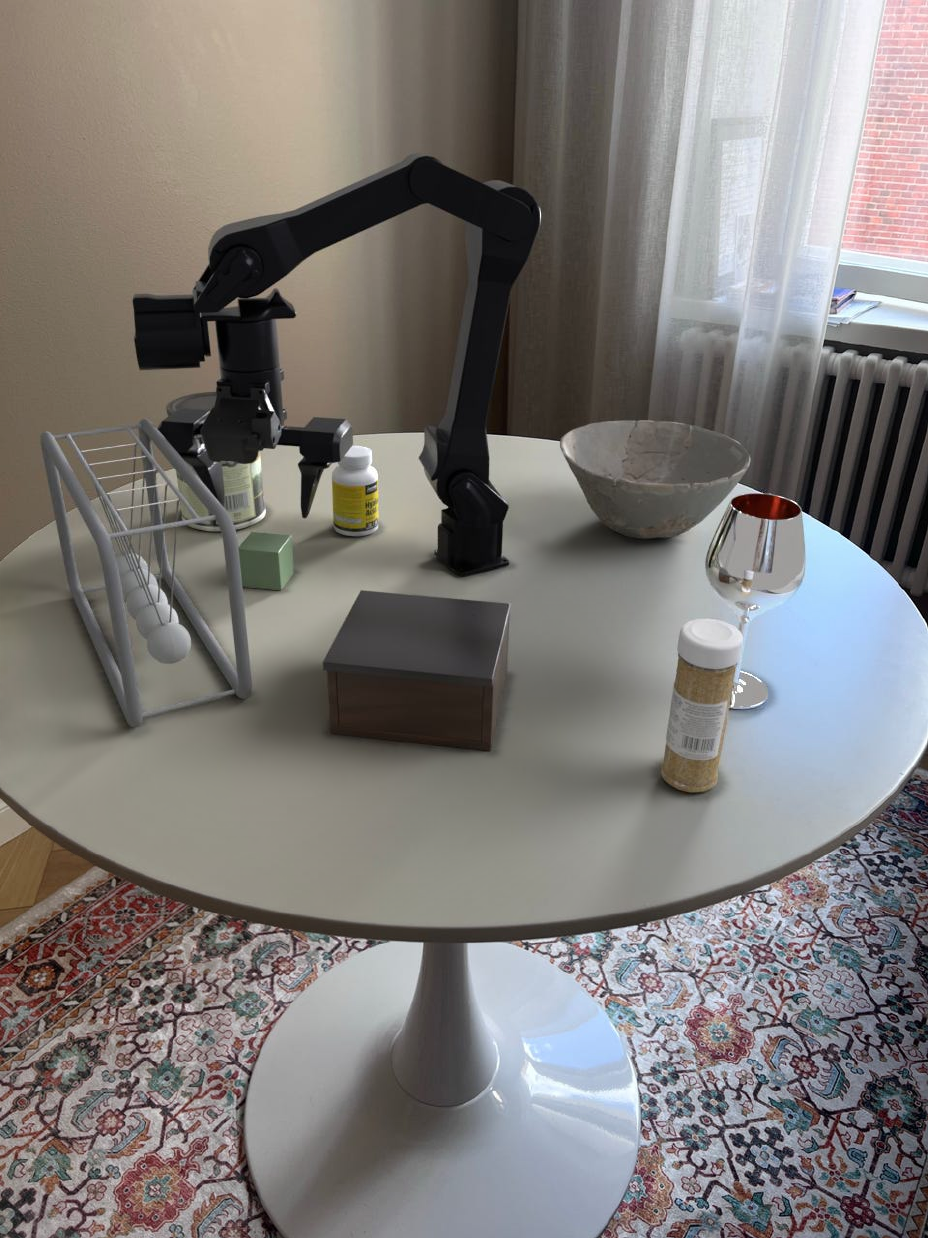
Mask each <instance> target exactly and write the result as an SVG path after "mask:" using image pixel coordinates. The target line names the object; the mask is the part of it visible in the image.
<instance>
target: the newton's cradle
mask: <svg viewBox="0 0 928 1238" xmlns="http://www.w3.org/2000/svg"><path fill="white" fill-rule="evenodd" d="M136 429H137V430H138V436H137V435H136V434H135V432H134V431H133V430H136ZM121 431H127V433H128V434H129V435H130V437H131V438H132V439H133V441H134V442H135V443H129V444H121V445H114V446H107V447H100V448H99V447H98V448H94V449H86V450H80V449H79V448H78V446H77V444H76V443H75V440H74V439H73V438H75V437H83V436H90V435H99V434H106V433H115V432H121ZM60 439H61V440H62V439H66V440H67V441H68V443H69V444H70V446H71V447H72V449H73V451H74V454H76V456H77V457H78V459H79V461H80V463H81V464H82V466H83V468H84V470H85V471H86V473H87V475H88V476H89V478H90V480H91V481H92V483H93V485H94V489H95V491H96V493H97V497H98V498H99V501H100V503H101V506H102V509H103V510H104V511H103V512H104V514H105V517H106V519H107V522H108V524H109V526H110V528H111V533H108V531H107V529H106V527H105V526H104V524H103V522H102V520H101V518H100V516H99V515H98V512H97V511H96V510H95V507H94V506H93V504H92V502H91V501H90V499H89V497H88V495H87V494H86V492H85V490H84V488H83V486H82V484H81V483H80V481H79V479H78V478H77V475H76V474H75V472H74V470H73V469H72V466H71V465H70V463H69V461H68V460H67V458H66V456H65V454H64V452H63V451H62V449H61V447H60V445H59V443H58V441H57V440H60ZM39 442H40V447H41V455H42V458H43V463H44V468H45V473H46V479H47V485H48V489H49V494H50V499H51V504H52V510H53V515H54V519H55V520H54V521H55V526H56V530H57V535H58V539H59V544H60V550H61V555H62V561H63V565H64V571H65V575H66V579H67V583H68V588H69V590H70V593H71V596H72V599H73V601H74V603H75V605H76V607H77V610H78V612H79V614H80V617H81V619H82V622H83V624H84V626H85V629H86V631H87V632H88V635H89V638H90V640H91V642H92V645H93V647H94V650H95V651H96V654H97V656H98V659H99V661H100V663H101V665H102V668H103V670H104V672H105V675H106V677H107V679H108V681H109V684H110V686H111V688H112V690H113V693H114V695H115V698H116V700H117V702H118V704H119V707H120V709H121V711H122V713H123V716H124V718H125V721H126V722H127V724H128V726H129V727H131V728H138V727H140V726H141V725H142V724H143V720H144V719H143V718H146V717H147V718H148V717H151V716H154V715H159V714H162V713H165V712H169V711H173V710H178V709H181V708H185V707H188V706H192V705H197V704H201V703H204V702H208V701H212V700H216V699H220V698H223V697H227V696H232V695H236V696H237V697H238V698H239V699H243V700H246V699H248V698H249V697H251V694H252V690H253V681H252V680H253V679H252V669H251V660H250V649H249V641H248V630H247V629H248V628H247V621H246V610H245V601H244V590H243V587H242V579H241V569H240V559H239V549H238V547H239V541H238V536H237V530H235V527H234V524H233V521H232V519H231V516H230V515H229V513H228V512H227V511H226V509H225V508H224V507H223V506H222V505H221V504H220V502H219V501H218V500H217V499H216V498H215V496H214V495H213V494H212V493H211V492H210V491H209V489H208V488H207V487H206V486H205V485H204V483H203V482H202V481H201V480H200V479H199V478H198V476H197V475H196V474H195V473H194V472H193V470H192V469H191V468H190V467H189V466H188V465H187V463H186V462H185V461H184V460H183V459H182V457H181V456H180V455H179V454H178V453H177V452H176V450H175V449H174V448H173V447H172V446H171V444H170V443H169V442H168V441H167V440H166V439H165V437H164V436H163V435H162V434H161V433H160V431H159V430H158V427H156V426H155V424H154V423H153V422H152V420H150V419H149V418H143V419H141V420H140V421H139V423H137V424H129V425H122V426H115V427H113V426H112V427H107V428H99V429H91V430H84V431H77V432H68V433H61V434H52V432H50V431H43V432H42V433H41V434H40V437H39ZM152 443H153V444H154V445H155V446H156V447H157V449H158V450H159V451H160V453H161V454H162V455H163V456H164V457H165V459H166V460H167V461H168V462H169V464H170V465H171V466H172V467H173V469H174V470H175V472H176V471H177V472H178V473H179V475H180V476H181V477H182V478H183V480H184V481H185V482H186V483H187V485H188V486H189V487H190V488H191V490H192V491H193V492H194V493H195V495H196V496H197V497H198V498H199V499H200V501H201V502H202V503H203V504H204V506H205V507H206V508H207V509H208V511H209V512H210V513H211V514H212V516H206V517H201V518H200V517H199V516H198V515H197V514H196V512H195V511H194V510H193V508H192V507H191V506H190V505H189V503H188V502H187V501H186V499H185V498H184V497H183V496H182V494H181V493H180V492H179V489H178V487H176V485H175V483H173V481H172V480H171V479H170V477H169V476H168V475H167V473H165V471H164V470H163V468H162V467H161V466H160V465H159V464H158V462H157V461H156V459H155V457H154V450H153V444H152ZM128 446H134V452H133V453H134V454H133V457H129V458H122V459H116V460H115V459H114V460H108V461H101V462H94V463H88V461H87V459H86V455H85V452H92V451H97V450H98V451H99V450H106V449H113V448H120V447H128ZM137 446H138V447H139V448H140V453H141V456H137ZM136 459H142V467H143V470H142V471H137V472H136V462H137V461H136ZM127 460H133V471H132V472H130V473H124V474H116V475H110V476H103V477H96V474H95V472H94V469H93V466H94V465H100V464H107V463H113V462H120V461H121V462H123V461H127ZM157 472H158V473H159V475H160V476H161V477H162V479H163V480H164V481H165V483H164V484H163V483H162V484H158V480H157ZM141 473H142V487H138V488H135V481H136V480H135V479H136V474H141ZM128 475H129V476H130V475H132V486H131V487H132V488H131V489H126V490H119V491H113V492H106V491H105V489H104V486H103V485H102V481H101V480H102V479H109V478H116V477H123V476H128ZM61 479H62V482H63V484H64V486H65V487H66V490H67V491H68V493H69V495H70V497H71V499H72V500H73V502H74V504H75V506H76V508H77V510H78V512H79V515H80V516H81V518H82V520H83V521H84V523H85V525H86V527H87V530H88V531H89V533H90V535H91V537H92V539H93V540H94V543H95V545H96V549H97V552H98V555H99V561H100V564H101V568H102V575H103V580H104V584H103V585H98V586H93V587H89V588H82V585H81V581H80V576H79V572H78V568H77V567H78V566H77V563H76V558H75V552H74V548H73V541H72V537H71V531H70V526H69V522H68V521H69V520H68V514H67V510H66V505H65V500H64V495H63V490H62V489H63V488H62V484H61ZM163 486H164V499H163V501H161V500H160V495H159V493H160V492H159V487H163ZM168 486H169V488H170V489H171V491H172V492H173V493H174V494H175V496H176V497H177V498H176V499H171V500H167V494H168ZM145 489H146V494H147V500H148V503H146V504H144V501H145V500H144V499H145ZM138 490H142V491H141V505H136V506H134V500H135V499H134V498H135V491H138ZM125 492H131V506H128V507H123V508H118V509H115V507H114V504H113V501H112V498H111V496H110V495H113V494H118V493H125ZM180 501H181V502H182V503H183V505H184V506H185V507H186V509H187V510H188V511H189V513H190V514H191V515H192V516H193V518H194V519H189V520H184V521H183V520H179V506H180ZM171 502H176V509H175V511H176V512H175V521H174V522H167V523H166V511H167V510H166V509H167V503H171ZM161 504H163V515H162V509H161ZM144 507H149V515H150V526H144V527H143V517H144V516H143V515H144ZM135 508H141V509H140V525H139V528H133V517H134V509H135ZM129 509H130V527H129V529H128V528H127V527H126V525H125V523H124V520H123V518H122V515H121V513H120V511H123V510H129ZM212 520H216V521H217V522H218V525H219V527H220V530H221V532H220V533H221V538H222V542H223V551H224V552H223V553H224V561H225V571H226V580H227V590H228V598H229V599H228V600H229V608H230V609H229V610H230V618H231V626H232V635H233V644H234V654H235V664H236V669H235V667H234V666H233V664H232V662H231V660H230V659H229V658H228V655H226V653H225V652H224V650H223V648H222V647H221V645H220V644H219V642H218V640H217V639H216V637H215V635H214V634H213V633H212V631H211V629H210V627H209V626H208V625H207V623H206V622H205V620H204V619H203V617H202V616H201V614H200V612H199V611H198V609H197V608H196V606H195V605H194V603H193V602H192V600H191V598H190V597H189V595H188V593H187V592H186V591H185V589H184V587H183V586H182V585H181V583H180V582H179V580H178V578H177V577H176V575H175V570H176V569H175V568H176V553H177V552H176V551H177V540H178V539H177V537H178V527H185V526H188V525H190V524H196V523H201V522H207V521H212ZM172 528H174V542H173V556H172V557H173V558H172V568H171V564H170V562H169V557H168V550H167V544H166V536H165V530H166V529H172ZM145 533H150V536H149V551H148V553H149V554H148V564H147V562H146V560H145V559H144V558H143V557H142V556H141V553H142V534H145ZM133 535H139V542H138V554H137V553H136V551H135V549H134V546H133V543H132V536H133ZM112 539H115V541H116V544H117V546H118V549H119V551H120V552H119V553H120V554H116V551H115V548H114V545H113V541H112ZM153 542H154V550H155V556H156V561H157V565H158V568H159V574H153V572H151V561H152V548H153V547H152V545H153V544H152V543H153ZM162 578H163V579H164V581H165V583H166V584H167V586H168V588H169V589H170V592H171V593H170V603H169V602H168V601H169V600H168V598H167V595H166V593H165V592H164V591H163V589H162V588H161V581H162ZM157 579H158V580H157ZM101 590H105V591H106V597H107V603H108V607H109V608H108V609H109V614H110V620H111V625H112V631H113V637H114V643H115V649H116V654H117V660H118V664H119V665H118V664H117V663H116V661H115V659H114V656H113V653H112V652H111V650H110V647H109V645H108V643H107V641H106V638H105V636H104V635H103V632H102V629H101V628H100V626H99V622H98V621H97V618H96V617H95V614H94V612H93V610H92V608H91V606H90V604H89V601H88V599H87V597H86V595H85V593H92V592H97V591H101ZM174 597H175V599H176V601H177V602H178V604H179V605H180V607H181V609H182V610H183V612H184V614H185V615H186V616H187V618H188V620H189V622H190V623H191V625H192V626H193V628H194V630H195V632H196V633H197V634H198V636H199V638H200V639H201V641H202V642H203V644H204V646H205V648H206V649H207V651H208V652H209V654H210V655H211V657H212V659H213V661H214V662H215V663H216V665H217V667H218V669H219V670H220V671H221V673H222V674H223V675H222V676H224V678H225V680H226V681H227V683H228V684H229V686H230V688H231V689H230V690H226V691H222V692H218V693H214V694H209V695H205V696H202V697H199V698H195V699H191V700H186V701H183V702H179V703H175V704H171V705H167V706H163V707H159V708H156V709H152V710H147V711H144V712H143V709H142V708H143V707H142V702H141V697H140V691H139V686H138V679H137V671H136V666H135V661H134V660H135V659H134V656H133V655H134V654H133V650H132V649H133V648H132V643H131V637H130V631H129V630H130V629H129V625H128V620H127V613H126V609H127V612H128V614H129V616H130V617H131V618H132V619H133V620H134V621H135V627H136V630H137V632H138V633H139V635H140V636H141V637H142V638H144V639H145V640H146V647H147V651H148V653H149V655H150V657H152V658H153V659H154V660H155V661H157V662H159V663H161V664H165V665H173V664H176V663H179V662H181V661H183V660H184V659H186V657H187V655H188V654H189V652H190V650H191V647H192V637H191V635H190V633H189V631H188V630H187V628H185V627H184V626H183V625H182V624H180V623H179V617H178V613H177V611H176V610H175V609H174V608H173V601H174V600H173V599H174ZM125 603H126V608H125ZM118 666H119V668H118Z"/></svg>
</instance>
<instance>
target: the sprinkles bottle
mask: <svg viewBox="0 0 928 1238" xmlns="http://www.w3.org/2000/svg"><path fill="white" fill-rule="evenodd" d="M742 644H743V637H742V634H741V632H740V631H739V630H738V628H737V626H735V625H732V624H731V623H729V622H726V621H723V620H719V619H714V618H696V619H695V618H694V619H691V620H688V621H687V622H685V623H684V624H683V625H682V626H681V627H680V630H679V634H678V641H677V647H676V648H677V649H676V650H677V657H678V658H677V665H676V671H675V672H676V674H675V680H674V682H673V687H672V694H671V701H670V709H669V715H668V722H667V728H666V735H665V747H664V754H663V755H664V756H663V760H662V761H663V762H662V764H661V766H660V774H661V778H662V779H663V780H664V781H665V782H666V783H667V784H668V785H669V786H671V787H673V788H675V789H676V790H679V791H681V792H687V793H704V792H708V791H709V790H711V789H712V788H714V787H715V786H716V785H717V784H718V780H719V772H718V771H719V766H720V761H721V757H722V751H723V748H724V743H725V739H726V734H727V728H728V721H729V711H730V708H729V706H730V700H731V694H732V688H733V682H734V674H735V668H736V666H737V665H738V661H739V660H740V657H741V651H742Z"/></svg>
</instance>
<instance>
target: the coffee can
mask: <svg viewBox="0 0 928 1238" xmlns="http://www.w3.org/2000/svg"><path fill="white" fill-rule="evenodd" d="M216 397H217V394H216V391H205V392H204V391H203V392H197V393H191V394H187V395H182V396H180V397H177V398H175V399H173V400H171V401H169V402H168V403H167V404H166V407H165V409H166V414H167V417H168V416H170V415H171V414H172V413H174V412H175V411H176V410H178V409H179V408H187V409H202V410H211V409H212V408H213V407H214V406H215V401H216ZM186 463H187V462H186ZM187 465H188V466H189V467H190V468H191V469H192V470H193V472H194V473H195V474H196V475H197V476H198V474H197V473H196V471H195V470H194V468H193V467H192V466H191V465H190V464H188V463H187ZM222 470H223V481H224V491H225V501H224V508H225V509H226V511H227V512H228V513H229V515H230V516H231V519H232V521H233V524H234V527H235V530H236V531H237V530H242V529H245V528H248V527H251V526H253V525H255V524H257V523H259V522H260V521H262V520H263V519H264V518H265V516H266V514H267V510H266V504H265V495H264V486H263V473H262V472H263V471H262V461H261V451H259V452H258V457H257V459H256V460H255V461H254V462H252V463H249V464H240V463H238V462H232V461H222ZM175 473H176V480H177V481H176V482H177V489H178V490H179V492H180V493H181V494H182V496H183V497H184V498H185V499H186V501H187V502H188V503H189V505H190V506H191V507H192V508H193V510H194V511H195V512H196V514H197V515H198V516H199V517H200V518H201V517H206V516H212V514H211V513H210V512H209V511H208V509H207V508H206V507H205V506H204V504H203V503H202V502H201V501H200V499H199V498H198V497H197V496H196V495H195V493H194V492H193V491H192V490H191V488H190V487H189V486H188V485H187V483H186V482H185V481H184V480H183V478H182V477H181V476H180V475H179V473H178V472H177V471H176V470H175ZM198 478H199V479H200V477H199V476H198ZM200 480H201V479H200ZM179 505H180V511H181V521H184V520H189V519H194V518H193V516H192V515H191V514H190V513H189V511H188V510H187V509H186V507H185V506H184V505H183V503H182V502H181V501H179ZM187 526H188V527H189V528H191V529H195V530H199V531H204V532H218V533H219V532H220V533H221V530H220V527H219V525H218V522H217V521H216V520H212V521H207V522H201V523H196V524H190V525H187Z"/></svg>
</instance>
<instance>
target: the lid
mask: <svg viewBox="0 0 928 1238" xmlns="http://www.w3.org/2000/svg"><path fill="white" fill-rule="evenodd" d="M509 614H510V615H511V603H507V602H497V601H484V600H473V599H462V598H451V597H442V596H441V597H440V596H430V595H418V594H408V593H397V592H384V591H373V590H364V589H363V590H362V589H360V591H359V593H358V595H357V597H356V598H355V600H354V602H353V604H352V605H351V608H350V609H349V612H348V614H347V616H346V617H345V619H344V621H343V623H342V624H341V627H340V628H339V631H338V632H337V634H336V637H335V638H334V639H333V642H332V644H331V646H330V648H329V649H328V652H327V653H326V656H325V657H324V659H323V661H322V671H326V672H327V671H336V672H346V673H356V674H366V675H376V676H385V677H395V678H405V679H415V680H425V681H435V682H445V683H455V684H464V685H474V686H484V687H492V686H493V682H494V677H495V673H496V669H497V665H498V660H499V656H500V652H501V648H502V643H503V639H504V635H505V631H506V626H507V622H508V618H509Z"/></svg>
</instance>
